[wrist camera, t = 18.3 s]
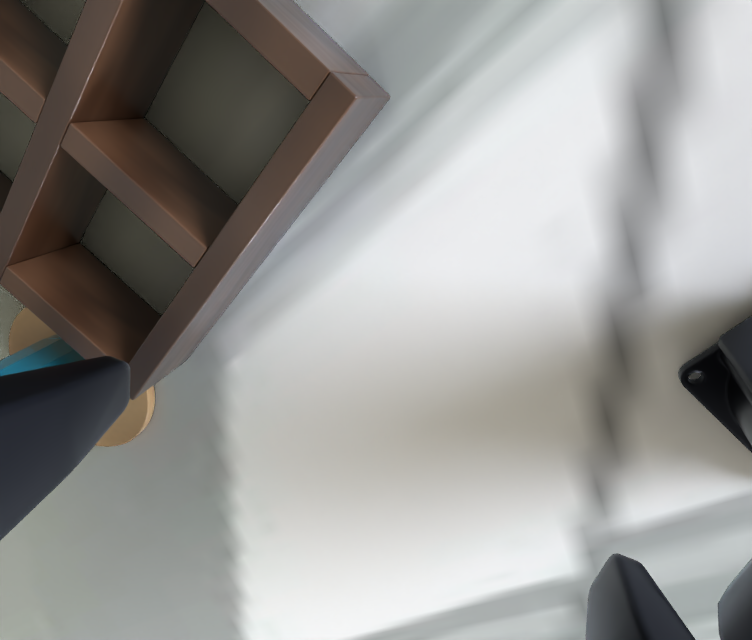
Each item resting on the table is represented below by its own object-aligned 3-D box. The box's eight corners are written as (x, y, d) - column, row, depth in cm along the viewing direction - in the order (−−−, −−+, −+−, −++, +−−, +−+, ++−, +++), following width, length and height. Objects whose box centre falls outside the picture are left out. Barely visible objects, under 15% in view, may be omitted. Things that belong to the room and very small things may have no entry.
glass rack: (391, 96, 19) (357, 97, 15) (186, 360, 27) (132, 401, 23) (44, -243, 18) (-78, -325, 14) (-65, 134, 25) (-163, 141, 22)
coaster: (182, 381, 27) (175, 387, 27) (115, 466, 31) (107, 472, 31) (49, 262, 27) (39, 265, 26) (-2, 365, 31) (-11, 370, 30)
